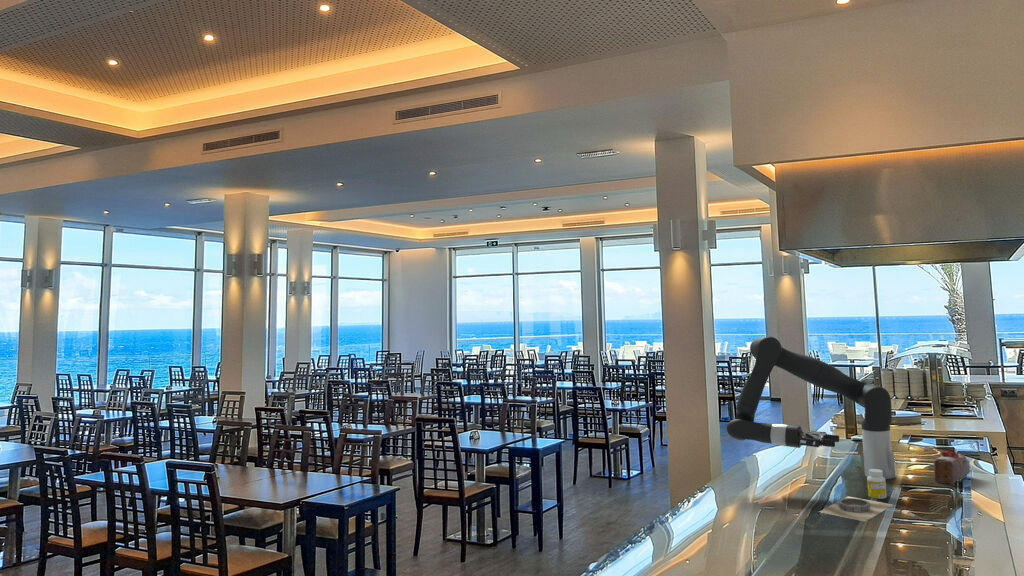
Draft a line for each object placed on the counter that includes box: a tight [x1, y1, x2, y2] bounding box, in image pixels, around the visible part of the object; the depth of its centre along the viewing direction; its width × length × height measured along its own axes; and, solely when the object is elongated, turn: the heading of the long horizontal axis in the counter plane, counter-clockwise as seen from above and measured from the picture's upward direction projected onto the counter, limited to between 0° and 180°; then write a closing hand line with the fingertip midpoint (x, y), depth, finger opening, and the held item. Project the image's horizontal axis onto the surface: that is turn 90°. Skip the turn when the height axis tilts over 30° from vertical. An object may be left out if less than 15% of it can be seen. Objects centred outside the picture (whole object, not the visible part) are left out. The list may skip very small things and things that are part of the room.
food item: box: [933, 451, 971, 484], centre depth 235 cm, size 14×8×10 cm, turn 128°
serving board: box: [818, 495, 893, 523], centre depth 209 cm, size 20×14×1 cm
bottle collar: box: [837, 497, 870, 513], centre depth 209 cm, size 9×9×2 cm
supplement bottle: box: [866, 469, 887, 500], centre depth 219 cm, size 5×5×10 cm
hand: (837, 441), depth 226 cm, fingers open, 8 cm apart
